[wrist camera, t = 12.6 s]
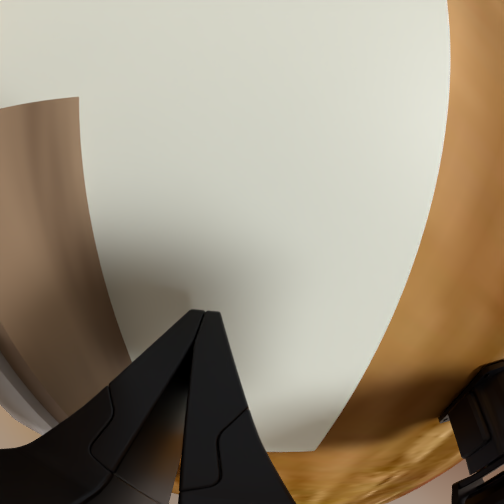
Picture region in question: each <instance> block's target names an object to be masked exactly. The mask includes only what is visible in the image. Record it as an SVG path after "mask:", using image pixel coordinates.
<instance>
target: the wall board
mask: <svg viewBox="0 0 504 504" xmlns="http://www.w3.org/2000/svg"><path fill="white" fill-rule="evenodd" d="M449 86H450V31H449V17H448V7H447V0H0V109H1V108H5V107H10V106H15V105H20V104H25V103H31V102H37V101H44V100H52V99H60V98H69V97H79V120H80V139H81V152H82V163H83V172H84V180H85V188H86V195H87V201H88V207H89V213H90V219H91V224H92V229H93V234H94V239H95V243H96V248H97V252H98V257H99V261H100V265H101V269H102V273H103V276H104V280H105V284H106V287H107V291H108V294H109V297H110V301H111V304H112V307H113V310H114V314H115V317H116V320H117V323H118V326H119V328H120V331H121V334H122V337H123V340H124V342H125V345H126V348H127V350H128V353H129V356H130V358H131V361H132V362H133V361H134V360H135V359H136V358H137V357H138V356H140V355H141V354H142V353H143V352H144V351H145V350H146V349H147V348H148V347H149V346H151V345H152V344H153V343H154V342H155V341H156V340H157V339H158V338H159V337H160V336H161V335H163V334H164V333H165V332H166V331H167V330H168V329H169V328H170V327H171V326H172V325H174V324H175V323H176V322H177V321H178V320H179V319H180V318H181V317H182V316H183V315H184V314H186V313H187V312H188V311H189V310H191V309H198V310H204V311H205V312H206V311H208V310H209V311H219V312H220V313H221V315H222V319H223V323H224V326H225V330H226V333H227V337H228V340H229V344H230V347H231V351H232V354H233V357H234V361H235V364H236V368H237V371H238V374H239V377H240V381H241V384H242V387H243V390H244V394H245V397H246V400H247V403H248V406H249V410H250V412H251V415H252V418H253V421H254V424H255V426H256V429H257V432H258V434H259V437H260V439H261V442H262V444H263V446H264V448H265V450H266V452H301V451H315V450H316V448H317V447H318V445H319V444H320V443H321V441H322V440H323V438H324V437H325V436H326V434H327V433H328V431H329V430H330V428H331V427H332V425H333V424H334V422H335V421H336V419H337V418H338V416H339V415H340V413H341V412H342V410H343V408H344V407H345V405H346V404H347V402H348V400H349V399H350V397H351V395H352V394H353V392H354V390H355V389H356V387H357V385H358V383H359V382H360V380H361V378H362V376H363V374H364V373H365V371H366V369H367V367H368V365H369V363H370V361H371V360H372V358H373V356H374V354H375V352H376V350H377V348H378V346H379V344H380V342H381V340H382V338H383V336H384V333H385V331H386V329H387V327H388V325H389V323H390V320H391V318H392V316H393V314H394V311H395V309H396V307H397V304H398V302H399V299H400V297H401V294H402V292H403V289H404V287H405V284H406V282H407V279H408V276H409V274H410V271H411V268H412V265H413V262H414V260H415V257H416V254H417V251H418V248H419V245H420V241H421V238H422V235H423V232H424V228H425V225H426V221H427V218H428V214H429V210H430V206H431V202H432V198H433V194H434V190H435V186H436V181H437V176H438V171H439V166H440V161H441V155H442V150H443V143H444V137H445V129H446V121H447V112H448V101H449Z"/></svg>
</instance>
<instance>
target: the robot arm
mask: <svg viewBox="0 0 504 504" xmlns="http://www.w3.org/2000/svg"><path fill="white" fill-rule="evenodd" d="M438 419H439V422H440V423H443V422H447V421H450V422H451V425H452V428H453V431H454V434H455V437H456V441H457V444H458V447H459V450H460V454H461V457H462V458H463V459H466V462H467V466H468V470H469V473H470V475H471V474H473V473H475V472H477V473H475V474H473V475H472V476H470V477H467V478H465V479H463V480H461V481H458V482H456V483H454V484H453V485H452V504H504V471H502V472H501V473H499V474H497V475H496V476H494V477H493V478H491V479H489V480H488V481H486V482H484V481H483V479H482V478H483V477H485V476H486V475H488V474H490V473H491V472H493V471H495V470H496V469H498V468H499V467H501V466H502V465H504V361H503V362H500V363H497V364H493V365H490V366H487V367H485V368H484V369H483V370H481V371H480V373H479V374H478V375H477V376H476V377H475V379H474V380H473V381H472V382H471V383H470V385H469V386H468V387H467V388H466V389H465V390H464V392H463V393H462V394H461V395H460V396H459V397H458V398H457V399H456V400H455V401H454V403H453V404H452V405H451V406H450V407H449V408H448V409H447V410H446V411H445V412H444V413H443V414H442V415H441V416H440V417H439V418H438ZM181 454H182V456H181ZM180 458H181V468H180V483H179V491H180V493H179V500H178V504H296V503H295V501H294V500H293V498H292V496H291V495H290V493H289V491H288V490H287V488H286V486H285V485H284V483H283V481H282V479H281V478H280V476H279V474H278V472H277V471H276V469H275V467H274V465H273V464H272V462H271V460H270V458H269V456H268V454H267V452H266V450H265V448H264V446H263V444H262V442H261V439H260V437H259V434H258V432H257V429H256V426H255V424H254V421H253V418H252V415H251V412H250V410H249V406H248V403H247V400H246V397H245V394H244V390H243V387H242V384H241V381H240V377H239V374H238V371H237V368H236V364H235V361H234V357H233V354H232V351H231V347H230V344H229V340H228V337H227V333H226V330H225V326H224V323H223V319H222V315H221V313H220V312H219V311H209V310H208V311H206V312H205V311H204V310H198V309H191V310H189V311H188V312H187V313H186V314H184V315H183V316H182V317H181V318H180V319H179V320H178V321H177V322H176V323H175V324H174V325H172V326H171V327H170V328H169V329H168V330H167V331H166V332H165V333H164V334H163V335H161V336H160V337H159V338H158V339H157V340H156V341H155V342H154V343H153V344H152V345H151V346H149V347H148V348H147V349H146V350H145V351H144V352H143V353H142V354H141V355H140V356H138V357H137V358H136V359H135V360H134V361H133V362H132V363H131V364H130V365H129V366H128V367H126V368H125V369H124V370H123V371H122V372H121V373H120V374H119V375H118V376H117V377H115V378H114V379H113V380H112V381H111V382H110V383H109V386H105V387H104V388H103V389H102V390H101V391H100V392H99V393H98V394H97V395H95V396H94V397H93V398H92V399H91V400H90V401H88V402H87V403H86V404H85V405H84V406H82V407H81V408H80V409H79V410H77V411H76V412H75V413H73V414H72V415H71V416H69V417H68V418H66V419H65V420H64V421H62V422H61V423H59V424H58V425H56V426H55V427H54V428H52V429H51V430H49V431H48V432H46V433H45V434H44V435H42V436H41V437H39V438H38V439H36V440H35V441H33V442H31V443H29V444H27V445H24V446H21V447H17V448H9V449H0V504H169V500H170V496H171V492H172V488H173V485H174V481H175V477H176V473H177V469H178V466H179V462H180ZM478 471H479V472H478Z"/></svg>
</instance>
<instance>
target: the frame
mask: <svg viewBox="0 0 504 504" xmlns="http://www.w3.org/2000/svg"><path fill="white" fill-rule="evenodd" d="M131 363H132V361H131V358H130V356H129V353H128V350H127V348H126V345H125V342H124V340H123V337H122V334H121V331H120V328H119V326H118V323H117V320H116V317H115V314H114V310H113V307H112V304H111V301H110V297H109V294H108V291H107V287H106V284H105V280H104V276H103V273H102V269H101V265H100V261H99V257H98V252H97V248H96V243H95V239H94V234H93V229H92V224H91V219H90V213H89V207H88V201H87V195H86V188H85V180H84V172H83V163H82V152H81V139H80V120H79V97H69V98H60V99H52V100H44V101H37V102H31V103H25V104H20V105H15V106H10V107H5V108H1V109H0V405H1V406H2V407H3V408H4V409H5V410H6V411H7V412H8V413H9V414H10V415H11V416H12V417H13V418H14V419H15V420H17V421H18V422H20V423H22V424H23V425H25V426H27V427H28V428H30V429H32V430H34V431H36V432H37V433H39V434H41V435H44V434H45V433H46V432H48V431H49V430H51V429H52V428H54V427H55V426H56V425H58V424H59V423H61V422H62V421H64V420H65V419H66V418H68V417H69V416H71V415H72V414H73V413H75V412H76V411H77V410H79V409H80V408H81V407H82V406H84V405H85V404H86V403H87V402H88V401H90V400H91V399H92V398H93V397H94V396H95V395H97V394H98V393H99V392H100V391H101V390H102V389H103V388H104V387H105V386H109V383H110V382H111V381H112V380H113V379H114V378H115V377H117V376H118V375H119V374H120V373H121V372H122V371H123V370H124V369H125V368H126V367H128V366H129V365H130V364H131Z"/></svg>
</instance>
